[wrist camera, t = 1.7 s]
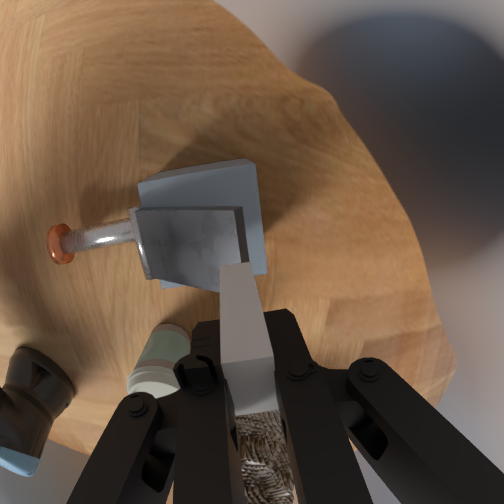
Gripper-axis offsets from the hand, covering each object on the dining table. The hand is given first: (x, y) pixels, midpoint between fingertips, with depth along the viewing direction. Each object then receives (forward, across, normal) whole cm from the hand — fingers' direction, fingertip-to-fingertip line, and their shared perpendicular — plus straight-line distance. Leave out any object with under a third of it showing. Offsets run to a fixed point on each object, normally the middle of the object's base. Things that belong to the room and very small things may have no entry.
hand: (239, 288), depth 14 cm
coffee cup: (+20, -11, -18) cm, 29 cm away
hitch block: (+20, -2, 0) cm, 20 cm away
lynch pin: (+18, -13, 0) cm, 22 cm away
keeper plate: (+8, -3, 0) cm, 9 cm away
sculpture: (+20, -2, -37) cm, 42 cm away
